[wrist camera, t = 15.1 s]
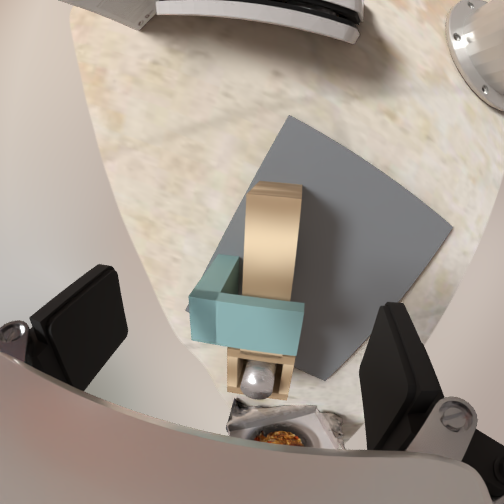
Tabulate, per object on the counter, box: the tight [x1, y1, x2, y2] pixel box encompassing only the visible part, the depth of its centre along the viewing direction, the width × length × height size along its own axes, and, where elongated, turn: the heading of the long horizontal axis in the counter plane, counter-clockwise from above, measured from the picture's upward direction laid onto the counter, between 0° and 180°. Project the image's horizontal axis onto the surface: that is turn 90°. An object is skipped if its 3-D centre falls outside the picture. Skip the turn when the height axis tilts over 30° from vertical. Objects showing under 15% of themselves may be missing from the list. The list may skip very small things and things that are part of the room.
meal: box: [226, 398, 346, 450], centre depth 31 cm, size 15×4×13 cm, turn 88°
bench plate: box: [185, 115, 453, 381], centre depth 28 cm, size 22×18×1 cm
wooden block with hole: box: [227, 181, 302, 400], centre depth 26 cm, size 19×6×6 cm, turn 177°
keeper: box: [189, 254, 304, 356], centre depth 25 cm, size 4×8×8 cm, turn 87°
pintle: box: [240, 359, 277, 399], centre depth 27 cm, size 3×3×8 cm
